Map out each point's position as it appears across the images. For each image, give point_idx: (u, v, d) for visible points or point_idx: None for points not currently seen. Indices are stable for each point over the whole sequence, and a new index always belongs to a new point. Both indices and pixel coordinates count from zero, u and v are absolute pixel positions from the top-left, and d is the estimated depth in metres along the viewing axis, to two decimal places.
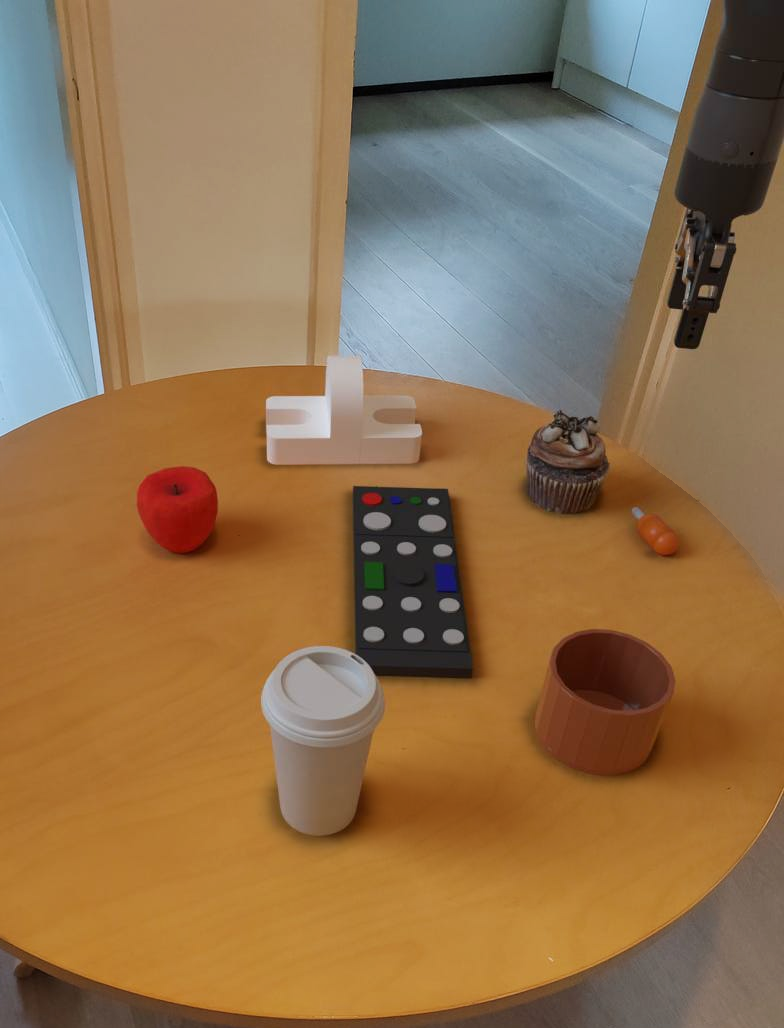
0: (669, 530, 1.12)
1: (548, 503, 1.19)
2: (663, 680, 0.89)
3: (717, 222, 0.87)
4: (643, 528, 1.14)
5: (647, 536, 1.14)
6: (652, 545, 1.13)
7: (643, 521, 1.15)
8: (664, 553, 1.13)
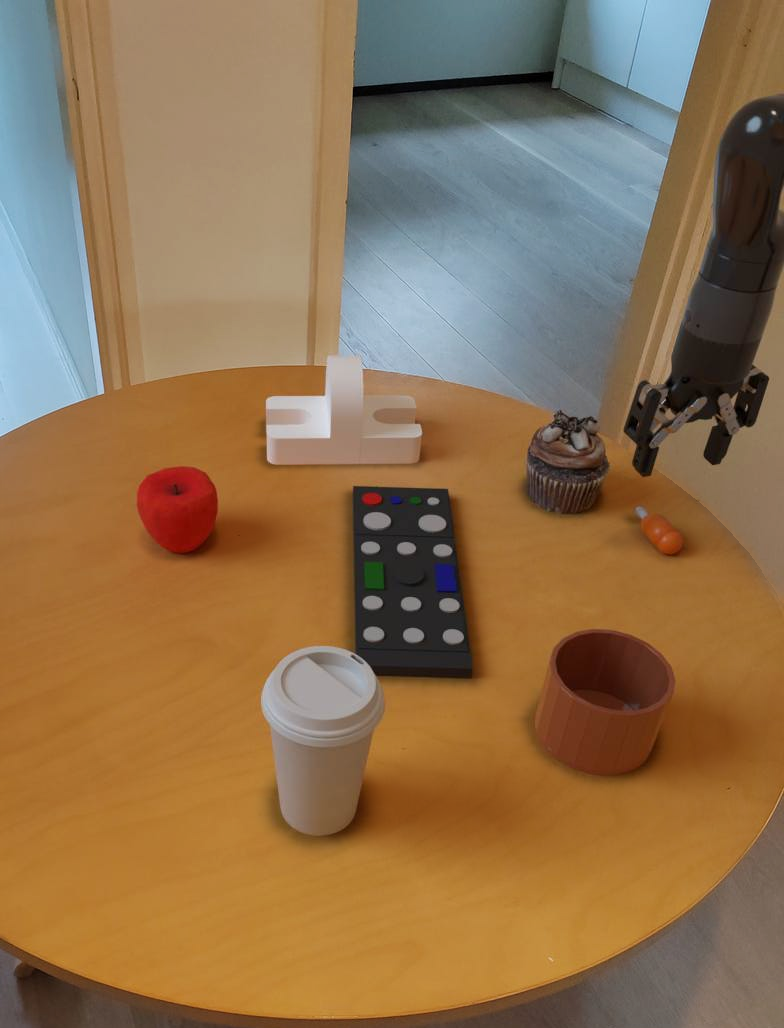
0: (676, 530, 1.13)
1: (548, 503, 1.19)
2: (663, 680, 0.89)
3: (673, 374, 1.00)
4: (650, 524, 1.14)
5: (653, 532, 1.14)
6: (657, 541, 1.13)
7: (650, 517, 1.15)
8: (667, 551, 1.13)
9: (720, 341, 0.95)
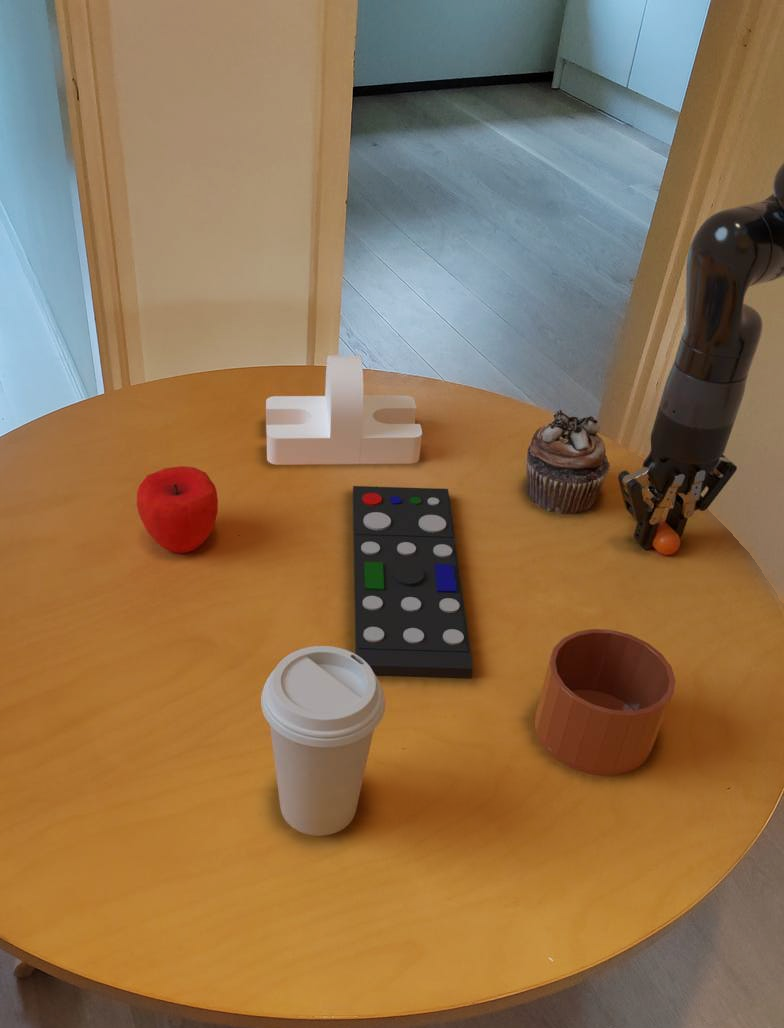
0: (675, 532, 1.13)
1: (548, 503, 1.19)
2: (663, 680, 0.89)
3: (653, 453, 1.06)
4: None
5: None
6: (656, 538, 1.13)
7: None
8: (665, 550, 1.12)
9: (695, 426, 1.01)
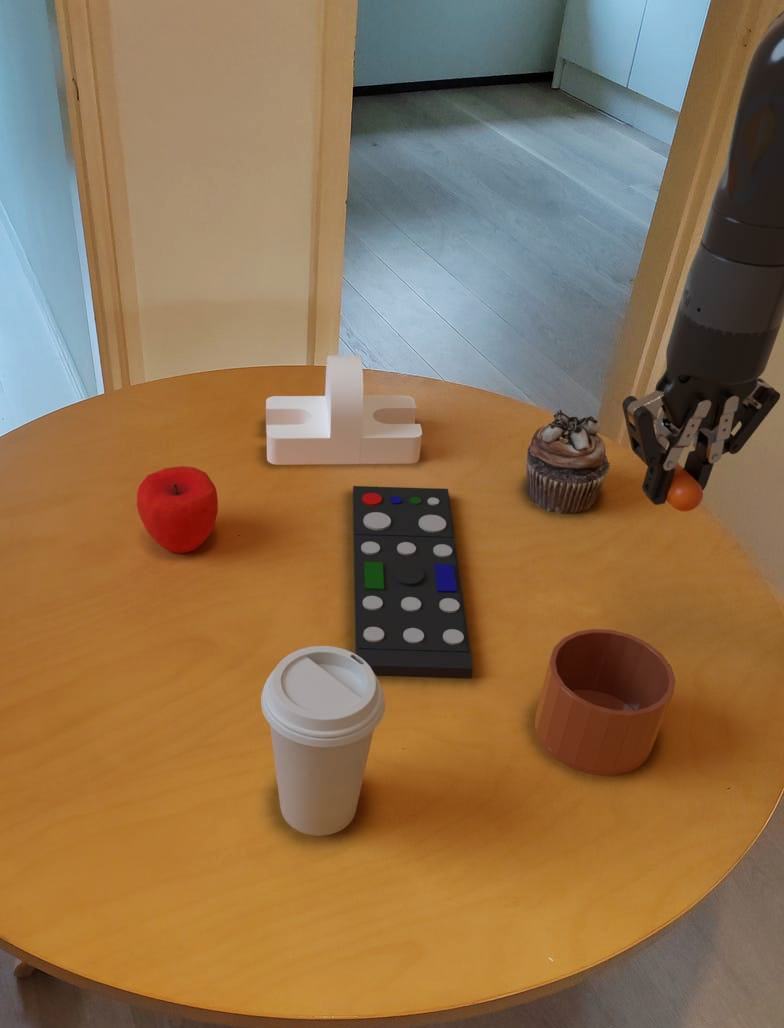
0: None
1: (548, 503, 1.19)
2: (663, 680, 0.89)
3: (669, 372, 0.80)
4: None
5: None
6: (672, 489, 0.86)
7: None
8: (683, 504, 0.86)
9: (727, 329, 0.75)
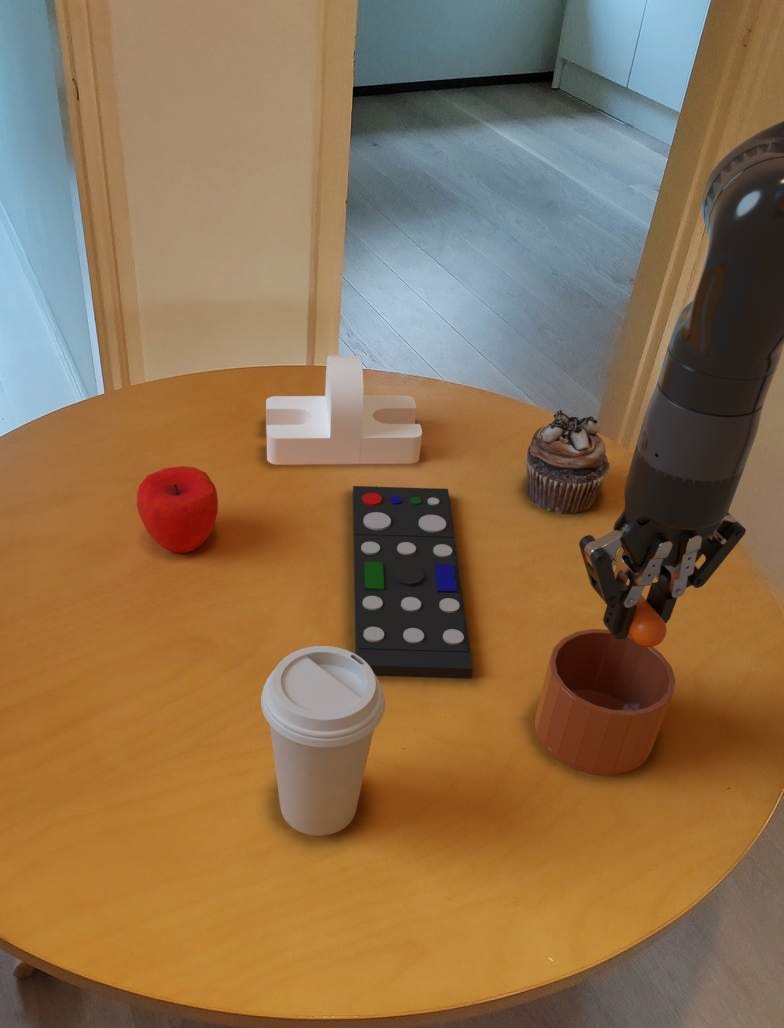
0: None
1: (548, 503, 1.19)
2: (663, 680, 0.89)
3: (627, 512, 0.75)
4: None
5: None
6: (633, 625, 0.82)
7: None
8: (645, 641, 0.81)
9: (687, 477, 0.70)
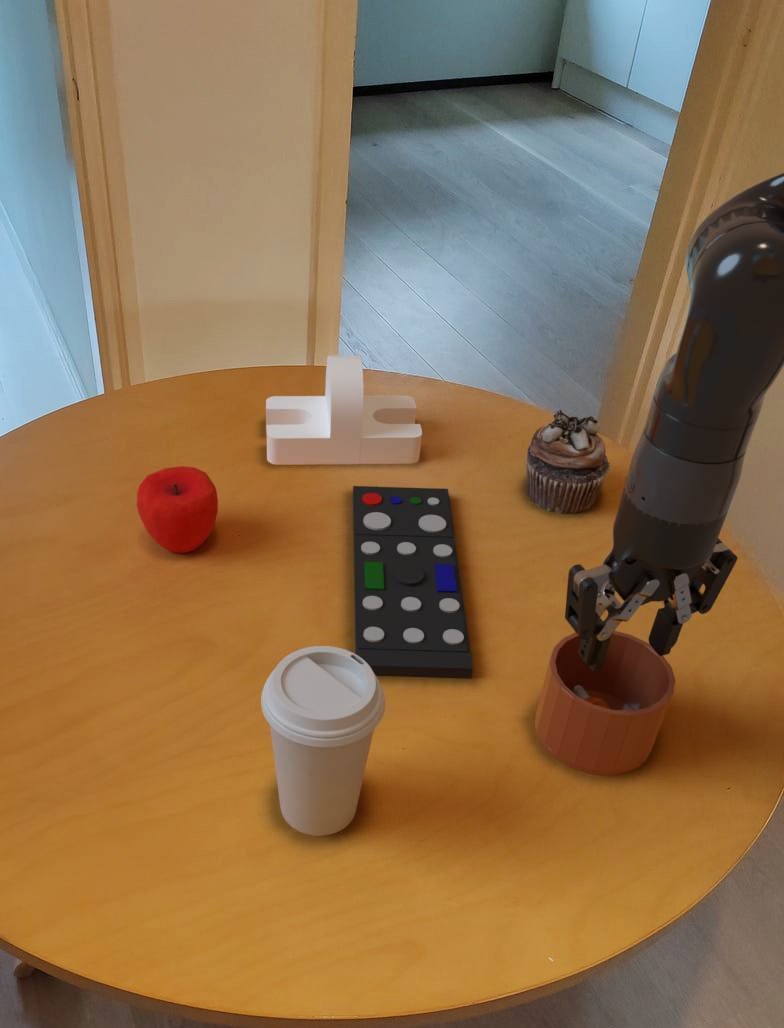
0: None
1: (548, 503, 1.19)
2: (663, 680, 0.89)
3: (616, 551, 0.77)
4: None
5: None
6: None
7: (594, 702, 0.92)
8: None
9: (672, 520, 0.72)
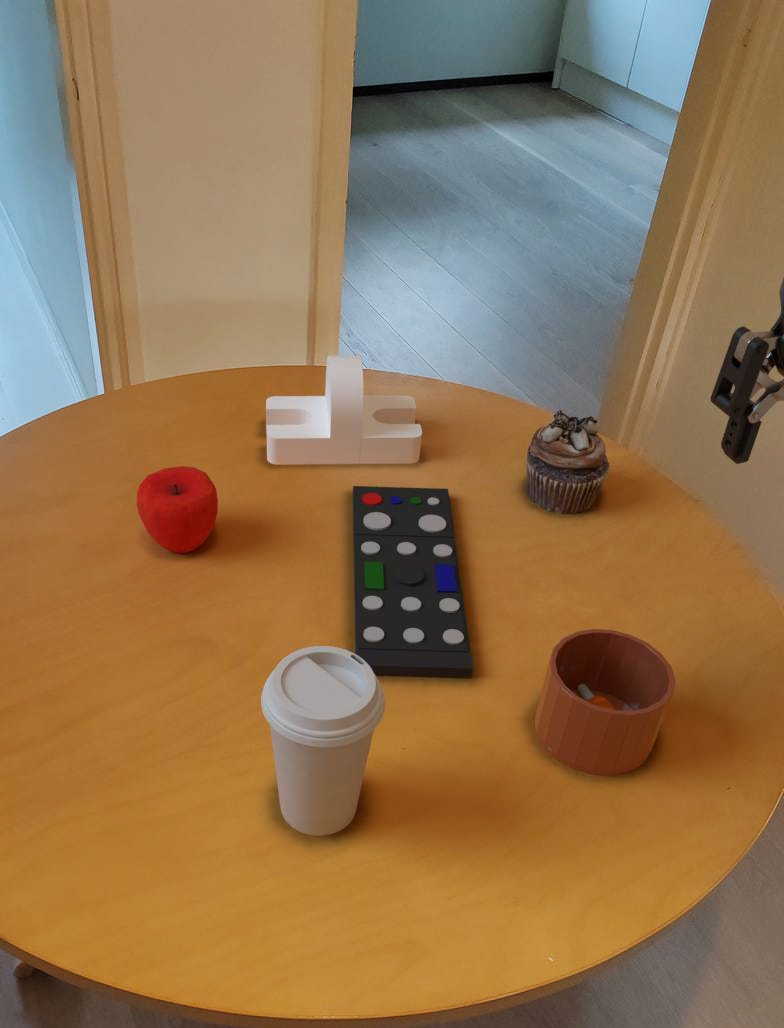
0: None
1: (548, 503, 1.19)
2: (663, 680, 0.89)
3: None
4: None
5: None
6: None
7: (602, 700, 0.92)
8: None
9: None
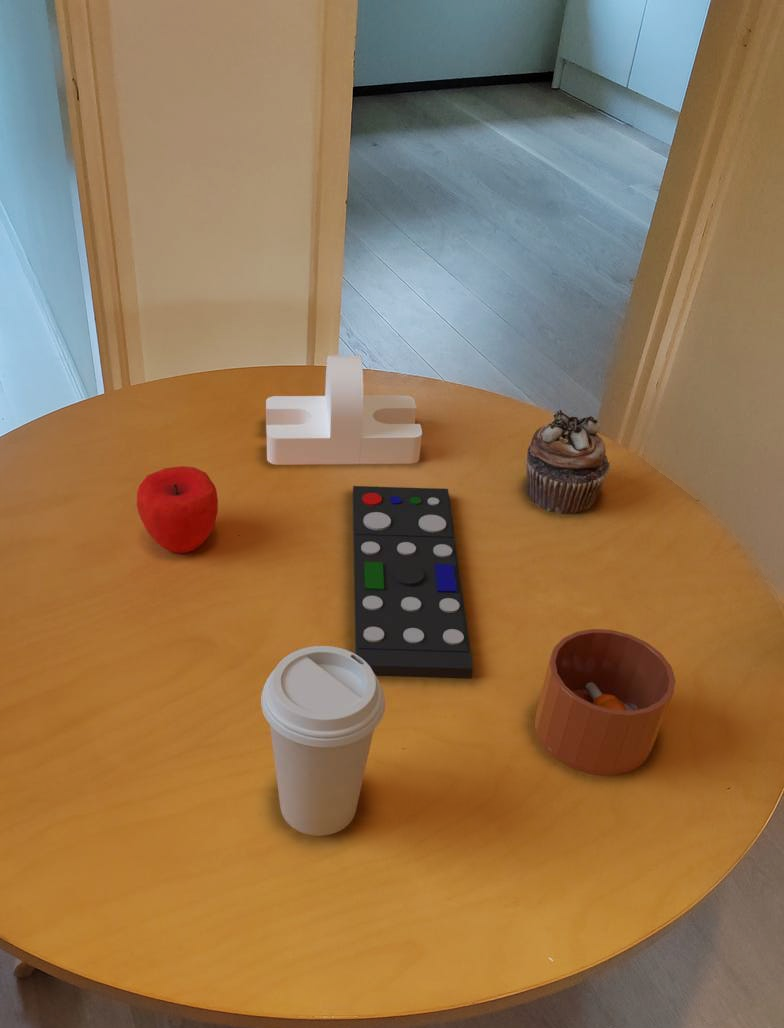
0: None
1: (548, 503, 1.19)
2: (663, 680, 0.89)
3: None
4: (617, 703, 0.92)
5: None
6: None
7: (617, 699, 0.93)
8: None
9: None
